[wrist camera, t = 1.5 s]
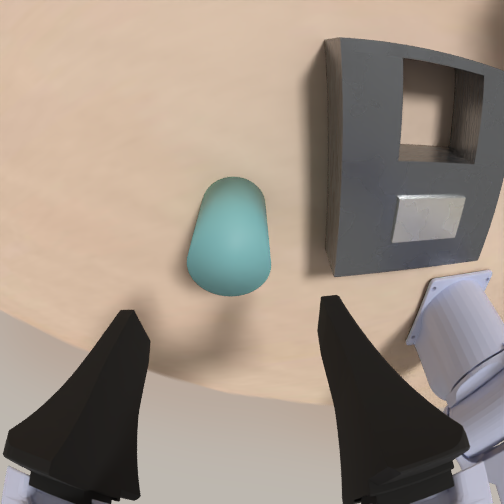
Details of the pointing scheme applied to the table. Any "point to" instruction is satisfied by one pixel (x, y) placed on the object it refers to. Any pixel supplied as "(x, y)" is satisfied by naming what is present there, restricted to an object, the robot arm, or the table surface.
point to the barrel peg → (230, 239)
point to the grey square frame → (407, 162)
